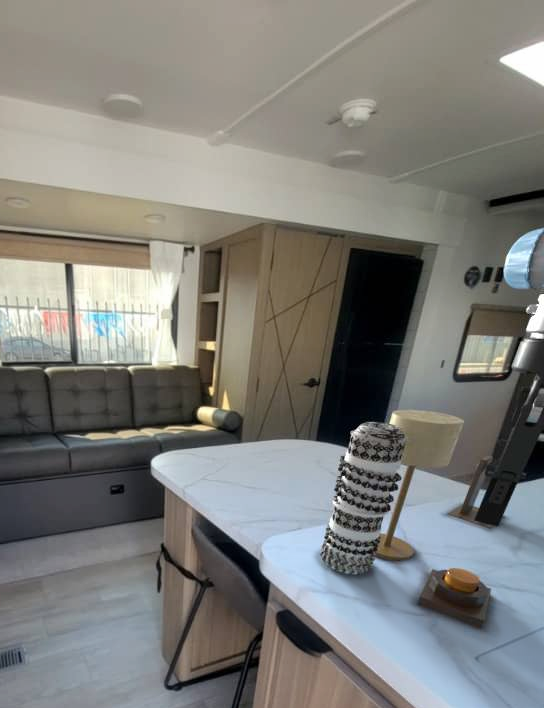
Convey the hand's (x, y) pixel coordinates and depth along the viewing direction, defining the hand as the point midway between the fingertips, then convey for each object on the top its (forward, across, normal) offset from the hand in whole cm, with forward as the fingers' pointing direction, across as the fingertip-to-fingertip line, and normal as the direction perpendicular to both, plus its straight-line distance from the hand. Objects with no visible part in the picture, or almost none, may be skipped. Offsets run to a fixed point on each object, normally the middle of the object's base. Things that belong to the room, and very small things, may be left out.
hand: (486, 521), depth 56 cm
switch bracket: (+14, -39, -1) cm, 42 cm away
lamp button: (+11, 0, 0) cm, 11 cm away
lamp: (+14, -10, -12) cm, 21 cm away
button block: (+14, 0, 0) cm, 14 cm away
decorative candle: (+15, +1, -16) cm, 22 cm away
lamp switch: (+2, -44, 0) cm, 44 cm away
